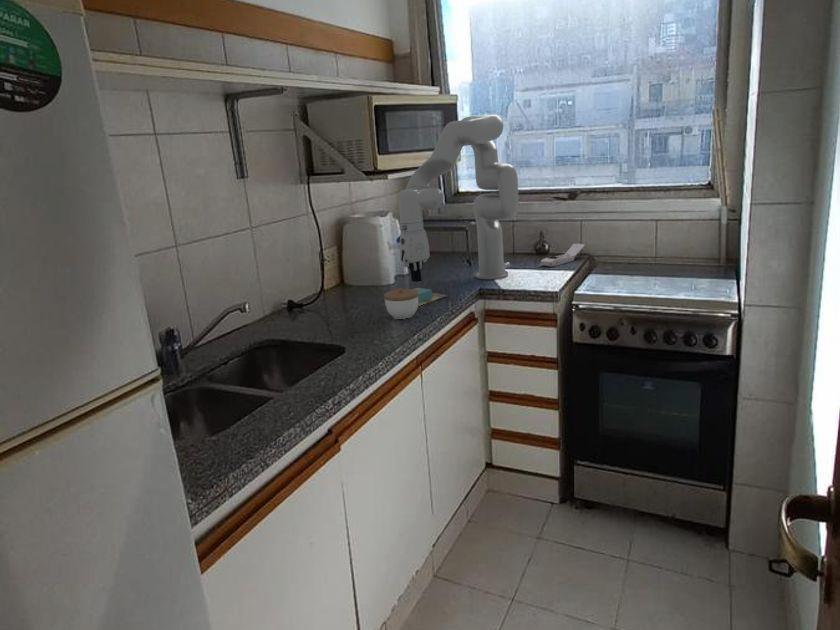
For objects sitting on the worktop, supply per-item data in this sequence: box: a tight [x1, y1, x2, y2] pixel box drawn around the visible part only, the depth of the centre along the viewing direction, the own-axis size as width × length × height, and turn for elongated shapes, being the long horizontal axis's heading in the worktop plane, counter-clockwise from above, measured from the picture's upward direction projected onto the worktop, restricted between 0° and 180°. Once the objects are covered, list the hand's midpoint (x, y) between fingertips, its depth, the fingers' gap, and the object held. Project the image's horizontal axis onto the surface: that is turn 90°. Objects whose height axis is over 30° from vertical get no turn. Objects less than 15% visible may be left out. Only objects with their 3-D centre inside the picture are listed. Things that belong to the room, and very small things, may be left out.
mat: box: [418, 292, 448, 307], centre depth 210 cm, size 16×11×1 cm
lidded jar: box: [383, 287, 419, 320], centre depth 191 cm, size 11×11×9 cm
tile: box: [412, 287, 433, 303], centre depth 208 cm, size 3×7×9 cm
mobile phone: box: [537, 243, 586, 268], centre depth 251 cm, size 6×6×25 cm
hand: (416, 281), depth 208 cm, fingers closed
